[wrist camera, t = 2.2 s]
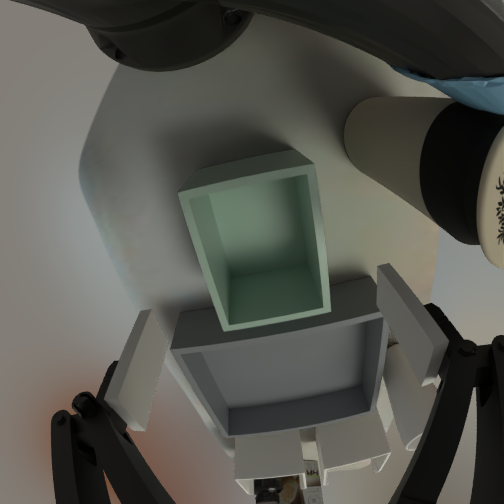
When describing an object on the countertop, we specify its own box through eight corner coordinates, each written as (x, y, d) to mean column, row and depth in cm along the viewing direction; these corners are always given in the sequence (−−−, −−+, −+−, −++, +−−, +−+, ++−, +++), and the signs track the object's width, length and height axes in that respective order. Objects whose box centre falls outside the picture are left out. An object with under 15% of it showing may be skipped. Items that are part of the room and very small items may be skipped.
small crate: (196, 169, 26) (177, 192, 18) (294, 148, 25) (314, 163, 18) (228, 280, 31) (223, 331, 24) (312, 264, 30) (331, 311, 23)
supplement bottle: (273, 463, 54) (276, 507, 43) (245, 461, 53) (246, 506, 42) (285, 453, 51) (290, 500, 40) (255, 451, 50) (256, 500, 39)
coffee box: (296, 458, 53) (303, 518, 39) (318, 460, 54) (326, 517, 40) (274, 470, 56) (278, 525, 42) (295, 472, 58) (300, 524, 44)
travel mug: (352, 185, 26) (469, 297, 10) (333, 104, 23) (472, 112, 7) (420, 169, 25) (555, 250, 9) (406, 92, 22) (562, 110, 6)
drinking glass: (363, 360, 37) (395, 449, 24) (400, 330, 35) (445, 417, 22) (386, 374, 39) (417, 452, 26) (419, 347, 37) (460, 424, 24)
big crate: (180, 312, 33) (170, 349, 27) (370, 276, 31) (391, 308, 25) (226, 406, 41) (224, 438, 36) (364, 381, 40) (374, 411, 34)
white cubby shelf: (374, 401, 43) (391, 451, 33) (367, 428, 48) (379, 471, 38) (235, 425, 45) (234, 479, 35) (247, 448, 50) (248, 494, 40)
